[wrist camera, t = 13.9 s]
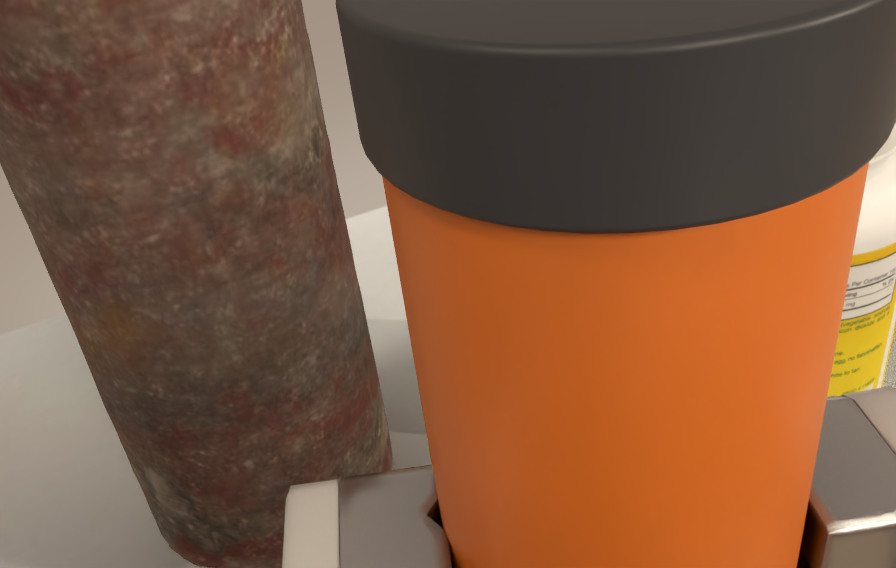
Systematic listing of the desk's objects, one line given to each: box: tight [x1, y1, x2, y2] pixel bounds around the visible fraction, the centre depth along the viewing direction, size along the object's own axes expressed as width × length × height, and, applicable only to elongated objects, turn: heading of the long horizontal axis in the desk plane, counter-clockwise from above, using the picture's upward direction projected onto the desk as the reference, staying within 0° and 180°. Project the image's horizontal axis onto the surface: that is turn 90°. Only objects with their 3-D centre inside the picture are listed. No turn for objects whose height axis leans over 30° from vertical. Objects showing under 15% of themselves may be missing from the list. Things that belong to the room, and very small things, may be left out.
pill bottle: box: [827, 123, 896, 397], centre depth 25 cm, size 6×6×11 cm
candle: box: [0, 0, 394, 568], centre depth 21 cm, size 8×7×20 cm
